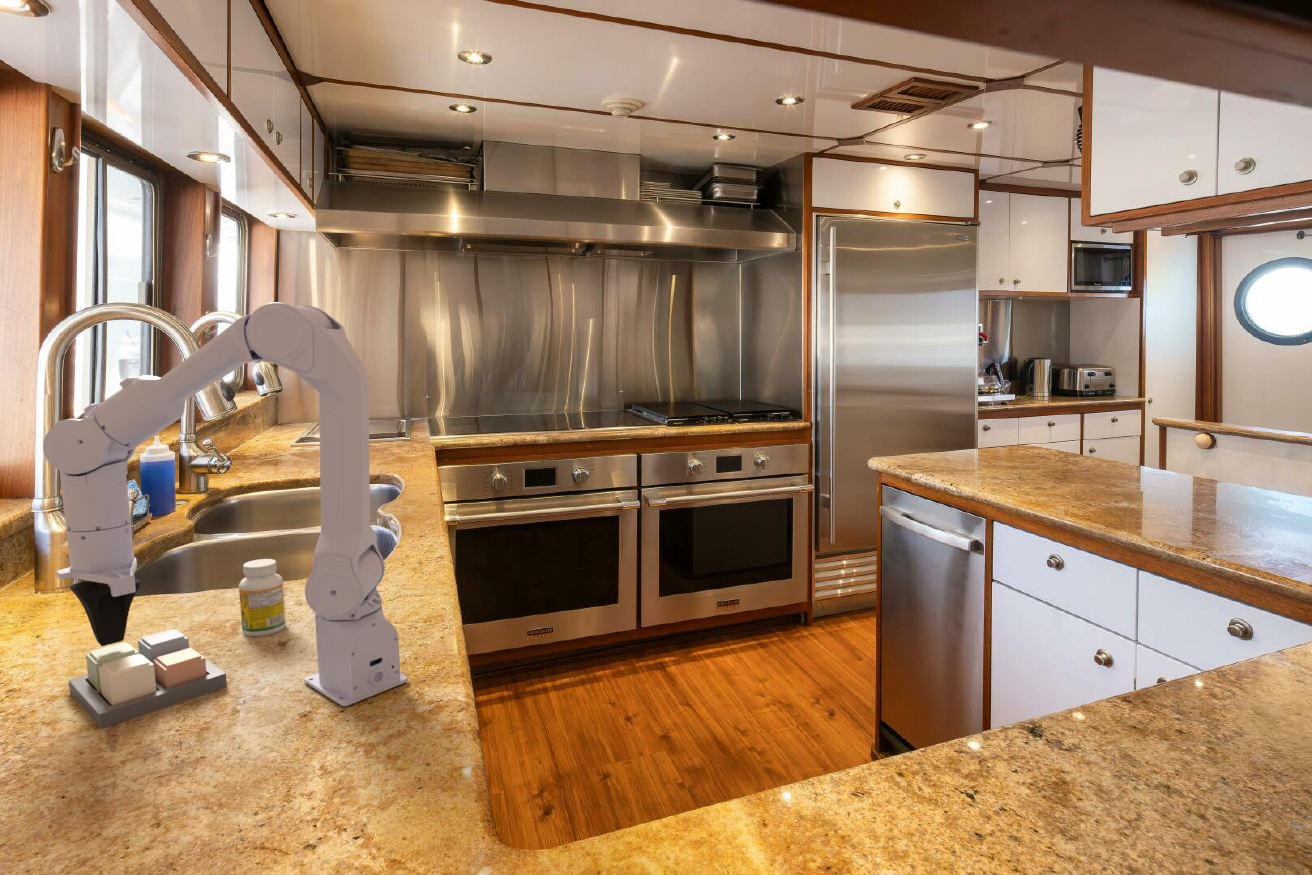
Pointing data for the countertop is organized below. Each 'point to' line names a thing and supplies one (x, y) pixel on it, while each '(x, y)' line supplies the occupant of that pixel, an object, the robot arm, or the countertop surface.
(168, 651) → the key slate
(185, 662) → the key terracotta
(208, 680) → the keypad board
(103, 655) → the key sage
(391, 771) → the countertop surface
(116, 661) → the key cream
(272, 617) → the supplement bottle
